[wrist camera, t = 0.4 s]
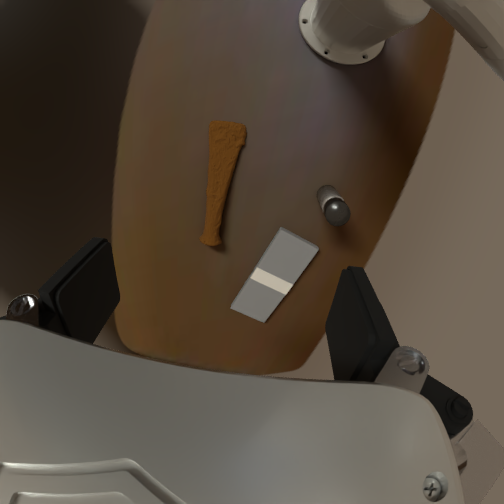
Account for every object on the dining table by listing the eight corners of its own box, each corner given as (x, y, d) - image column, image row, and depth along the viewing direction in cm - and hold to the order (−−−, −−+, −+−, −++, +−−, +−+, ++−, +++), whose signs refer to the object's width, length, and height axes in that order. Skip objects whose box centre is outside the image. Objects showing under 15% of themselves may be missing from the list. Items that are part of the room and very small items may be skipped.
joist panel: (280, 226, 44) (280, 229, 43) (317, 246, 45) (318, 249, 44) (231, 304, 52) (230, 308, 51) (264, 319, 53) (264, 323, 52)
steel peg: (324, 181, 40) (334, 197, 33) (341, 191, 41) (355, 210, 34) (312, 198, 42) (321, 218, 35) (330, 208, 42) (341, 230, 35)
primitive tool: (210, 119, 37) (205, 121, 34) (248, 123, 37) (246, 125, 34) (201, 238, 47) (196, 248, 44) (234, 242, 47) (231, 253, 44)
